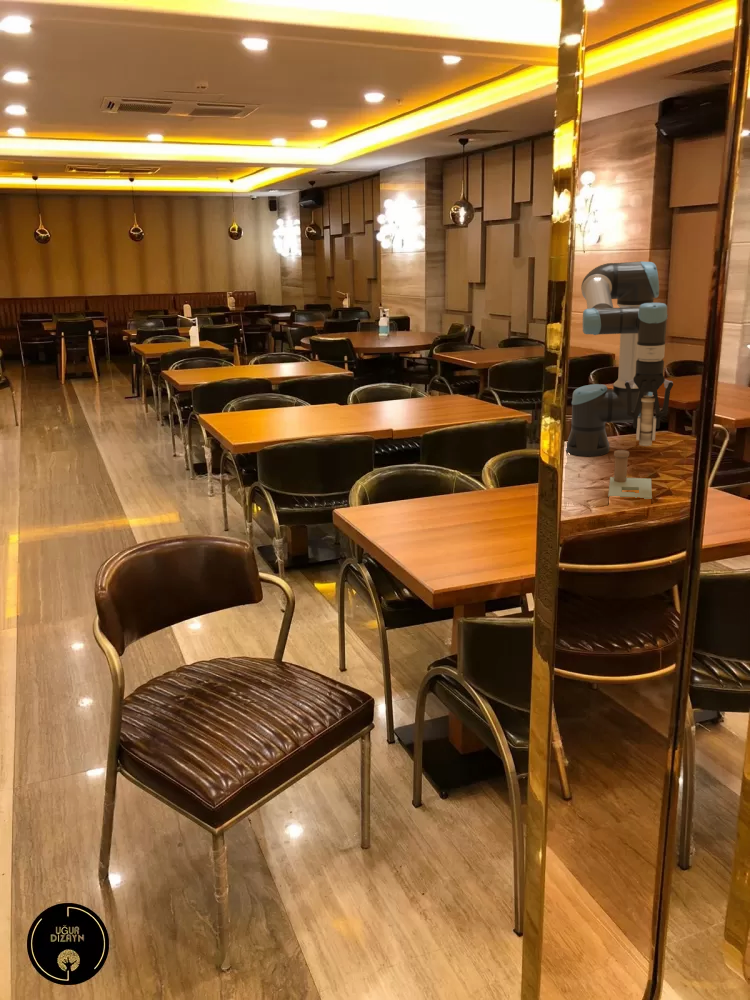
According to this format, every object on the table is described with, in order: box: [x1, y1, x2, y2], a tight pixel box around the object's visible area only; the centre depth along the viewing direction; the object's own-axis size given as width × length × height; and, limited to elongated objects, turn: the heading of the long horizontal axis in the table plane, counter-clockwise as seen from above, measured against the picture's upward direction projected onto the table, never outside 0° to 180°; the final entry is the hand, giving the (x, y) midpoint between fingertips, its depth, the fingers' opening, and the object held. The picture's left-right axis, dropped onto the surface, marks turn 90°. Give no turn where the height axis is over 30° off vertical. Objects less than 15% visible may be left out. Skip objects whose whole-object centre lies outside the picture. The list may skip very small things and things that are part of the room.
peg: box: [638, 396, 655, 447], centre depth 237 cm, size 4×4×14 cm
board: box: [607, 449, 653, 500], centre depth 242 cm, size 17×12×13 cm
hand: (645, 438), depth 239 cm, fingers closed on peg, 4 cm apart
